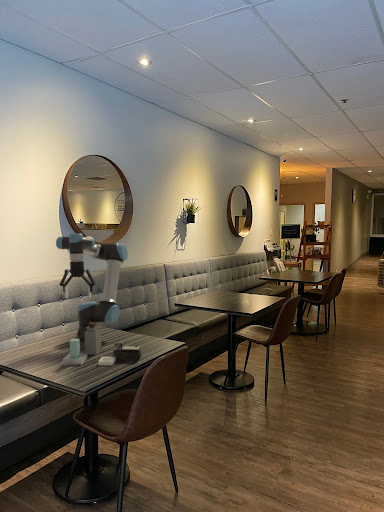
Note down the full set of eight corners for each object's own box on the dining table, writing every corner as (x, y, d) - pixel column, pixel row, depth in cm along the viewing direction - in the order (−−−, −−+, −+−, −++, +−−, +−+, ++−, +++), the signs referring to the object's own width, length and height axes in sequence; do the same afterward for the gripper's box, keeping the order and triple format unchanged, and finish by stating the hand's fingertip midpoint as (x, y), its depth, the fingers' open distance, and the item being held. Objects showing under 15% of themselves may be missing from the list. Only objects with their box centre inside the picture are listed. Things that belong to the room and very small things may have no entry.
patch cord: (81, 352, 233) (81, 350, 233) (82, 352, 233) (82, 350, 233) (73, 359, 221) (73, 357, 221) (75, 359, 221) (75, 357, 221)
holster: (102, 361, 217) (102, 356, 217) (115, 361, 217) (115, 356, 217) (98, 366, 210) (98, 361, 210) (112, 366, 210) (112, 361, 209)
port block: (69, 359, 222) (69, 352, 221) (87, 359, 221) (87, 352, 221) (63, 365, 212) (62, 358, 211) (81, 365, 211) (81, 358, 211)
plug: (73, 360, 218) (72, 338, 217) (80, 360, 218) (79, 338, 217) (70, 362, 214) (69, 340, 213) (77, 362, 214) (77, 340, 213)
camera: (142, 357, 223) (141, 340, 222) (138, 362, 215) (138, 344, 215) (116, 357, 225) (115, 339, 224) (111, 361, 217) (111, 343, 216)
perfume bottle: (96, 355, 227) (95, 324, 226) (85, 355, 228) (84, 324, 227) (101, 351, 234) (100, 321, 232) (90, 351, 235) (89, 321, 234)
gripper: (52, 261, 223) (54, 299, 225) (96, 261, 222) (97, 299, 223) (57, 260, 230) (59, 296, 232) (100, 260, 229) (101, 296, 231)
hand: (78, 298), depth 228 cm, fingers open, 13 cm apart
